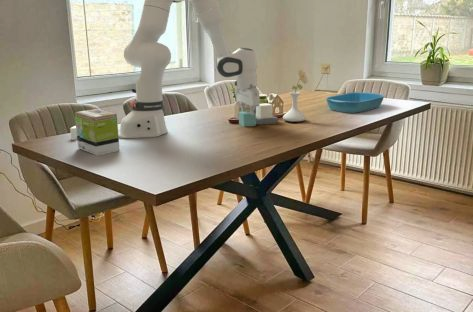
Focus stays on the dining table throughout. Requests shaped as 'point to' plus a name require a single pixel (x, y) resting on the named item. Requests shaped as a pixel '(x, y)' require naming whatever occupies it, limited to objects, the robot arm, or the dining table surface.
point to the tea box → (97, 131)
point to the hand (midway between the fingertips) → (247, 113)
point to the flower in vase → (294, 112)
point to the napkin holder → (73, 133)
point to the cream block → (264, 110)
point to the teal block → (247, 119)
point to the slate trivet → (266, 120)
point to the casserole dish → (355, 101)
